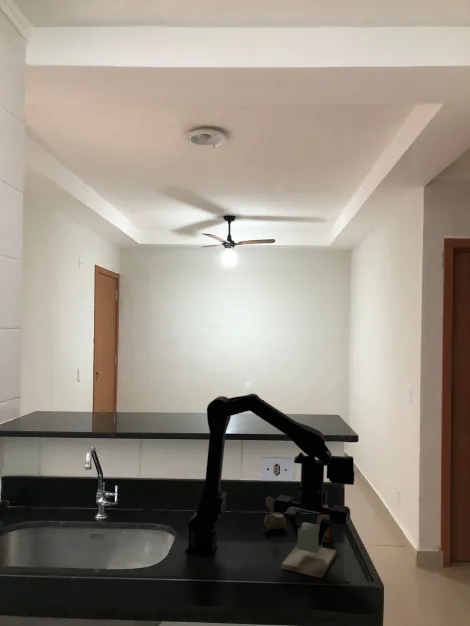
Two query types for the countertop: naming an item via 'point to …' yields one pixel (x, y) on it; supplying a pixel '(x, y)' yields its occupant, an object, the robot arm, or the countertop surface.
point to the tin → (328, 532)
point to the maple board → (309, 561)
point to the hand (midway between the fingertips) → (309, 543)
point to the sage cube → (308, 537)
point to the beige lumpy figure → (274, 517)
